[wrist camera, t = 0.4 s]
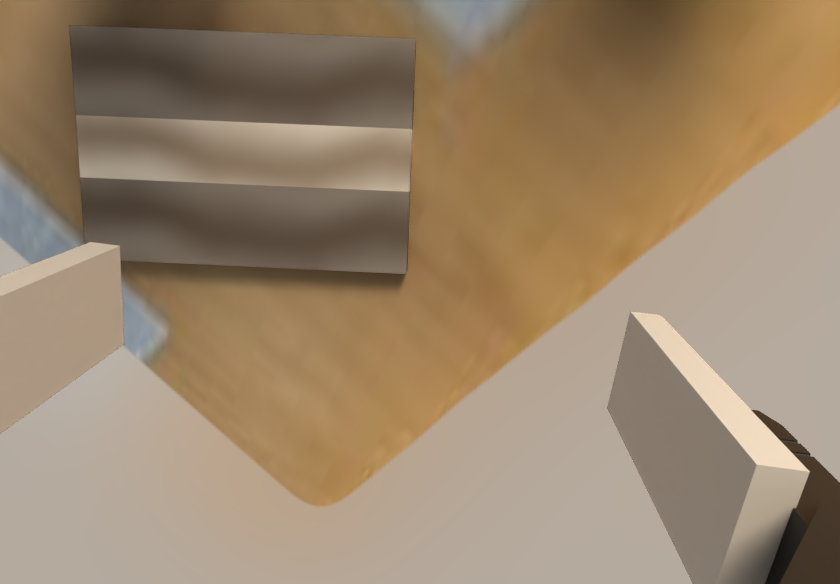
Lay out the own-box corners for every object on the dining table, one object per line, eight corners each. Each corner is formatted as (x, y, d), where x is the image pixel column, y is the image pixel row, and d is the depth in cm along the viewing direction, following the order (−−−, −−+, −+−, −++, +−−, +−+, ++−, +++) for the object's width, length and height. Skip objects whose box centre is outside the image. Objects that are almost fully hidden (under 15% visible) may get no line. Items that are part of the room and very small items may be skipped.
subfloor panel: (83, 30, 39) (69, 25, 38) (416, 43, 39) (415, 38, 37) (98, 255, 42) (85, 258, 41) (407, 270, 42) (406, 274, 40)
